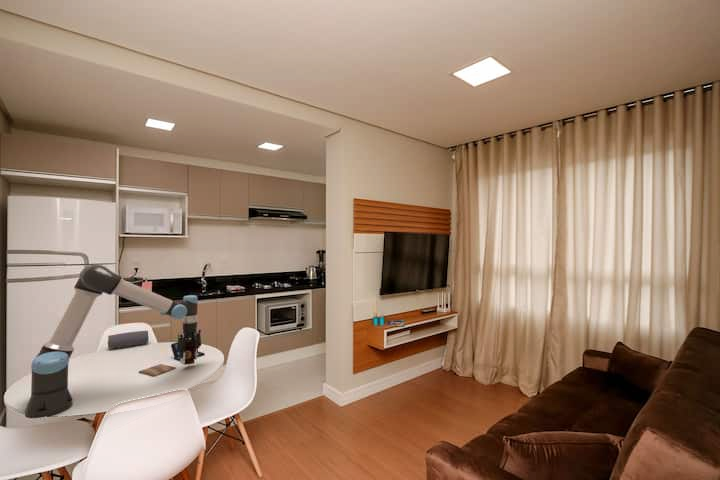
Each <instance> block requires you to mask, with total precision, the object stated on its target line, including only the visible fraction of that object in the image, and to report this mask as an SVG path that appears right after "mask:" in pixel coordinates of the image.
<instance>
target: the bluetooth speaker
mask: <svg viewBox="0 0 720 480" xmlns="http://www.w3.org/2000/svg"><path fill="white" fill-rule="evenodd" d="M107 337H108V338H107V347H108V349H115V348H117V349H118V348H119V349H126V348H127V349H128V348H133V347H137V346H138V345H142V344H146V343H149V337H150V336H149V330H140V331H139V330H137V331H129V332H123V333H116V334H111V335H108V336H107Z"/></svg>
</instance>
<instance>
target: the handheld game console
mask: <svg viewBox="0 0 720 480" xmlns="http://www.w3.org/2000/svg"><path fill="white" fill-rule="evenodd" d="M189 340H192V339H191V338H190V339H189ZM177 344H178V341H177V342H174V343H171V345H170V347H171V350H172V354H173V359H174V360H176V361H178V362H180V353H179V352H176V350H177ZM205 355H206V354H205V352H201V351H198V353H197V358H200V357H203V356H205Z"/></svg>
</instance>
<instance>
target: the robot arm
mask: <svg viewBox="0 0 720 480" xmlns="http://www.w3.org/2000/svg"><path fill="white" fill-rule="evenodd" d="M73 289H74V291H75V292H74V295H73V297H72V298H71V300H70V302H69V304H68V307H67V308H66V310H65V312H64V314H63V316H62V318H61V320H60V321H59V322H58V325H57V327H56V329H55V331H54V333H53V335H52V336H51V337H50V340H49V341H48V342H45V343H43V344H42V347H41V349H40V350H39V352H38V353H37V355H36V356H35V357H34V358H33V360H32V362H31V366H30V367H31V368H30V369H31V387H30V388H31V390H30V391H31V394H30V398H29V399H28V402H27V405H26V407H25V409H24V417H25V418H27V419H39V418H47V417H51V416H53V415H58V414H60V413H62V412H65V411H67V410H68V409H70V408H72V406H73V405H74V404H73V402H74V401H73V400H74V399H73V397H72V394H71V392H70V390H69V388H68V387H69V363H70V358H71V356H72V354H73V352H74V350H75V347H74V346H73V344H74V342H75V340H76V338H77V336H78V335H79V332H80V331H81V328H82V327H83V324H84V322H85V321H86V319H87V317H88V315H89V313H90V311H91V309H92V307H93V305H94V304H95V301H96V299H97V298H98V297H99V296H102V295H103V293H104V294H107V295H110V296H111V295H116V296H119V297H121V298H124V299H126V300H128V301H131V302H134V303H136V304H138V305H141V306H144V307H146V308H149V309H151V310H154V311H157V312H159V314H160V315H161V316H170V317H172V318H173V319H176V320H181V319H182V333H180V334H179V333H178V334H177V342H178V344H177V350H176V352H179V353H180V361H179V362H180V363H179V364H182V365H184V364H185V352H184V350H185V344H186V343H187V341H188V340H189V339H192V340H194V341H195V340H196V342H197V343H198V344H197V347H196V356H195V359H194V361H195V360H198V357H197V353H198V352H199V348H200V347H202V340H201V339H202V337H201V332H202V331H201V329H197V328H198V309H199V308H198V306H199V302H198V301H199V300H198V296H197V295H193V294H190V295H184V296H183V298H182V299H180V300H179V299H178V300H172V299H170V298H167V297H164V296H162V295H160V294H158V293H156V292H154V291H151V290H148V289H146V288H144V287H141V286H139V285H136V284H135V283H132V282H130V281H127V280H125V279H123V276H120V275H118V274H117V273H115V272H113V271H111V270H110V269H109V268H108V267H106V266H104V265H102V264H96V263H95V264H90V265H88V266H86V267H84V268H83V269H82V270H81V272H80V273H79V278H78V279H77V281H76V283H75V285H74V287H73Z"/></svg>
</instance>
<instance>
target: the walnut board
mask: <svg viewBox="0 0 720 480" xmlns="http://www.w3.org/2000/svg"><path fill="white" fill-rule="evenodd" d="M176 369H177V368H176V366H172V365H167V364H162V363H159V364H157V365H153V366H150V367H148V368H145V369H142V370H139V371H138V374H142V375H146V376H150V377H154V378H155V377H157V376H160V375H163V374H165V373H168V372H171V371H173V370H176Z"/></svg>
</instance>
